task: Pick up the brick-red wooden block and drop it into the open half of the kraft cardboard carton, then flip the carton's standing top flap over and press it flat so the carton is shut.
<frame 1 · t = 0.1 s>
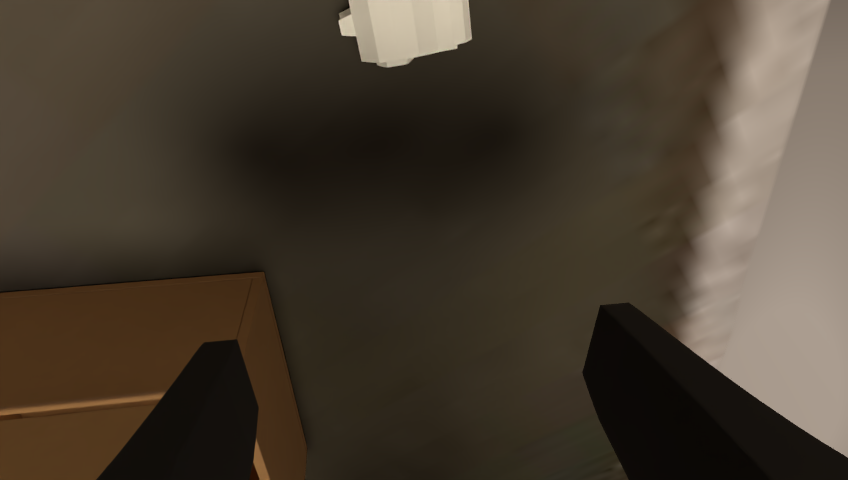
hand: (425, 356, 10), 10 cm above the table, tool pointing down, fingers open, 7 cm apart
carton: (153, 386, 23), on the table
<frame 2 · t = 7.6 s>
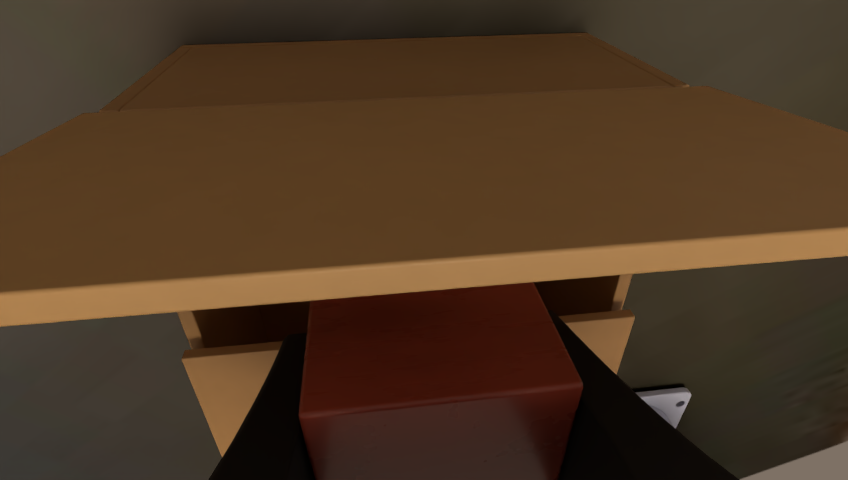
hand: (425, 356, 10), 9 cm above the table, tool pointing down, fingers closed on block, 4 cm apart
flap: (437, 158, 7), point 10 cm above the table, hinge at 95.0°
block: (416, 310, 11), point 8 cm above the table, touching gripper
carton: (399, 212, 19), on the table
when the fingers open (4 cm above the table, at t = 9.8 s): block drops 2 cm, resting on carton.
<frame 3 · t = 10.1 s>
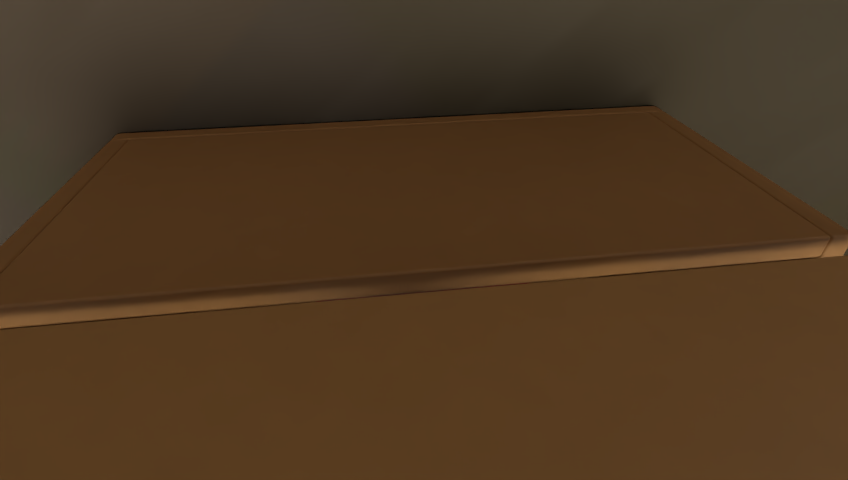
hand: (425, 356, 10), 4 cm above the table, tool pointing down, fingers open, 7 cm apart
carton: (407, 316, 15), on the table
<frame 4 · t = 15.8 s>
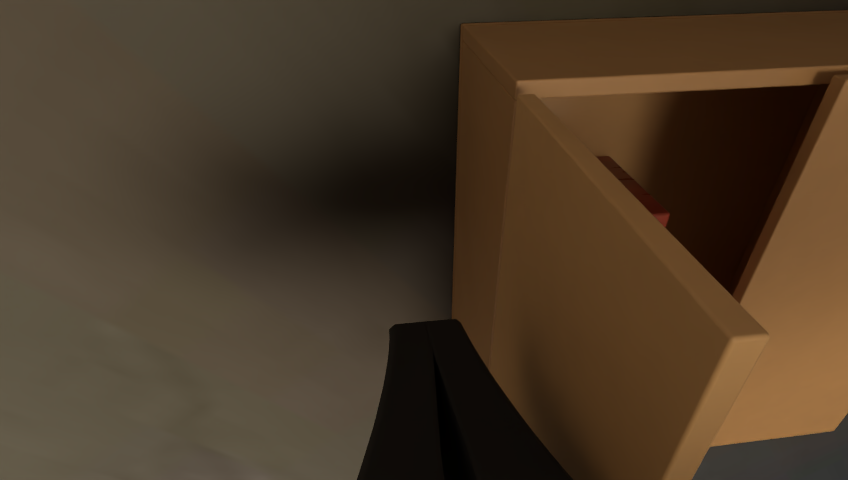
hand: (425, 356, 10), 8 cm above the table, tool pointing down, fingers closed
flap: (536, 447, 10), point 10 cm above the table, hinge at 90.3°, touching gripper
block: (547, 208, 18), resting on carton
carton: (619, 197, 19), on the table
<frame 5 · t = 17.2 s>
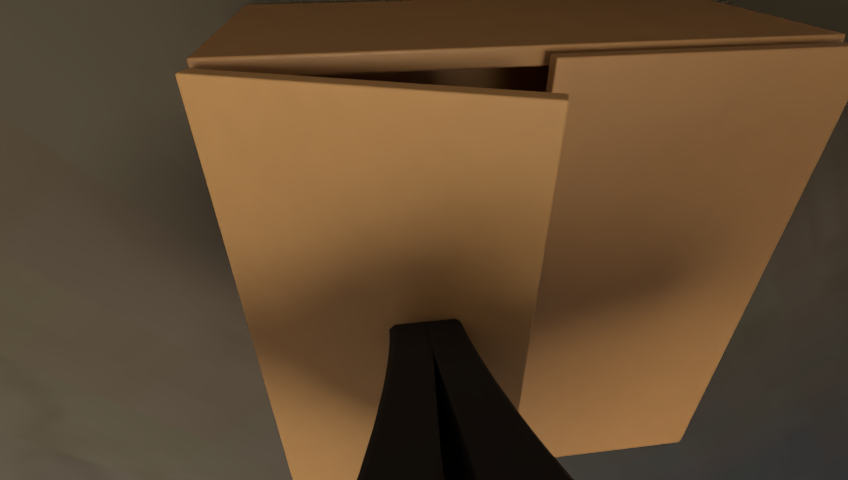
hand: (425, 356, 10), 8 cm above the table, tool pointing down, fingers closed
flap: (381, 365, 11), point 8 cm above the table, hinge at 20.9°, touching gripper
carton: (464, 193, 18), on the table
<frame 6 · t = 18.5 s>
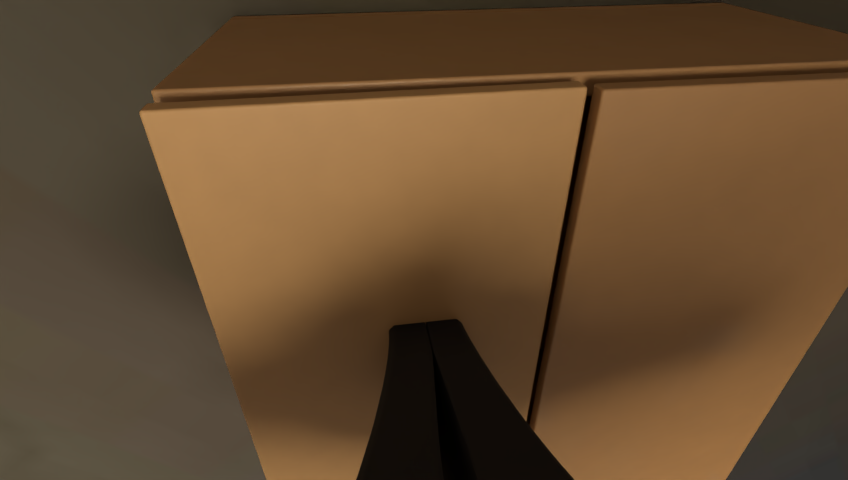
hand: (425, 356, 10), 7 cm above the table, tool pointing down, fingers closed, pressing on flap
flap: (393, 387, 10), point 6 cm above the table, hinge at -1.4°, touching gripper
carton: (476, 220, 16), on the table
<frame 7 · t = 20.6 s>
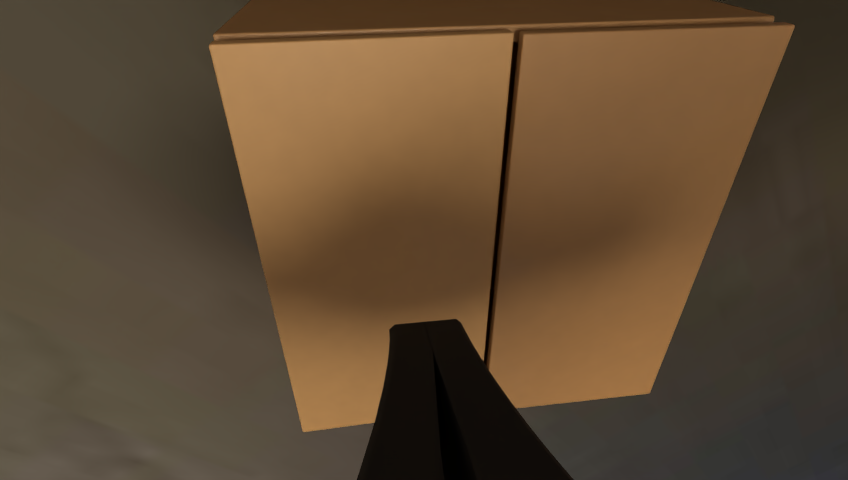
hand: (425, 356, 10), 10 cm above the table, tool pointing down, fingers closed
flap: (383, 276, 14), point 6 cm above the table, hinge at -1.4°
carton: (455, 169, 19), on the table
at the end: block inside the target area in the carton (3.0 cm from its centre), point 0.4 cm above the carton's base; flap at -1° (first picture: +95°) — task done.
